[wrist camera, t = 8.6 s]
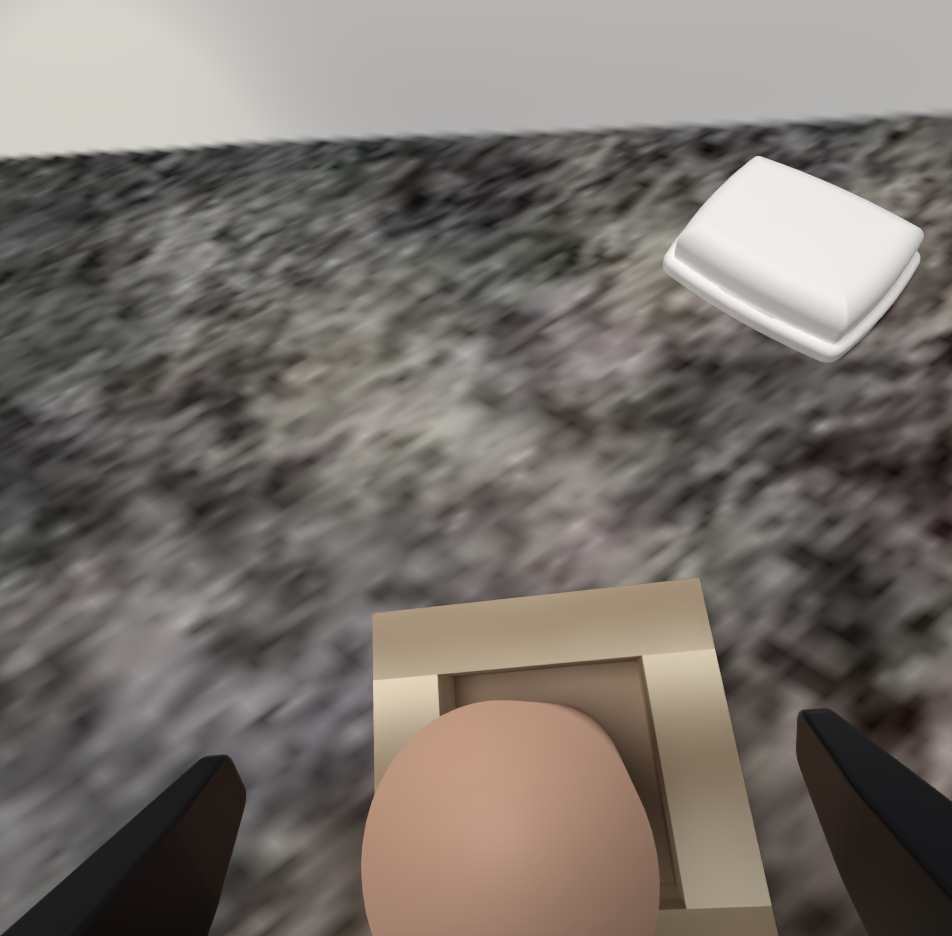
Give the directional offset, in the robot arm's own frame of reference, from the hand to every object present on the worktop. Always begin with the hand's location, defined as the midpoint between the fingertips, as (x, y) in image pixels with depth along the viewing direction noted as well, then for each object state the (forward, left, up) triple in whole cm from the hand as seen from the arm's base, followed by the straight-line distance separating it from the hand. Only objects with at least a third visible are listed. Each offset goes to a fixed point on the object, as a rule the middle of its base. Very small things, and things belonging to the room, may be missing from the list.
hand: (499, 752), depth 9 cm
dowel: (-1, -1, -12) cm, 13 cm away
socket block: (-1, -1, -13) cm, 13 cm away
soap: (+21, +4, -13) cm, 25 cm away
